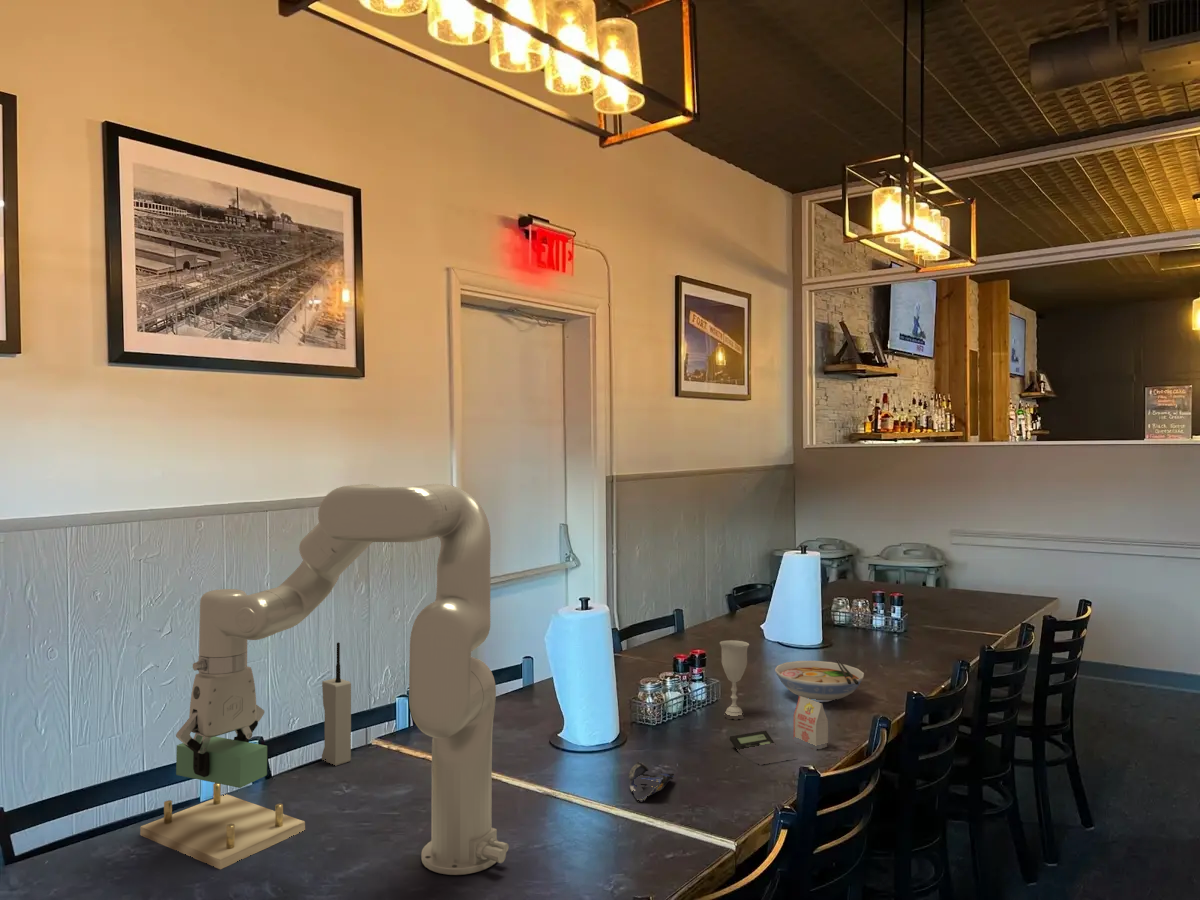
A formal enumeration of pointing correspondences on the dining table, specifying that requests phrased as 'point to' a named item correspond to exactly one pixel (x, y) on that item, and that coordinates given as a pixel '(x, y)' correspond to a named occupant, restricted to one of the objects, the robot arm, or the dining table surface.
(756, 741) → the calculator
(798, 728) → the paper takeout bag
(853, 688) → the ramen bowl
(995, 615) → the dining table surface
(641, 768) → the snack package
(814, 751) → the dining table surface
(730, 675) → the chalice
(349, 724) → the vintage mobile phone
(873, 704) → the dining table surface
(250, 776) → the olive green box
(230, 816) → the chassis plate
